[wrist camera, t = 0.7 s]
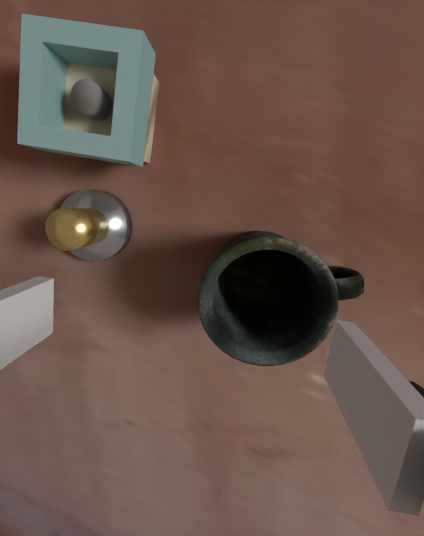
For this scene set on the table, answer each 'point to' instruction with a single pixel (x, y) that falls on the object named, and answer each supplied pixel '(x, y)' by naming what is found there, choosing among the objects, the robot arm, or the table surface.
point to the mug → (271, 298)
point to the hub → (90, 225)
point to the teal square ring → (55, 77)
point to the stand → (99, 102)
